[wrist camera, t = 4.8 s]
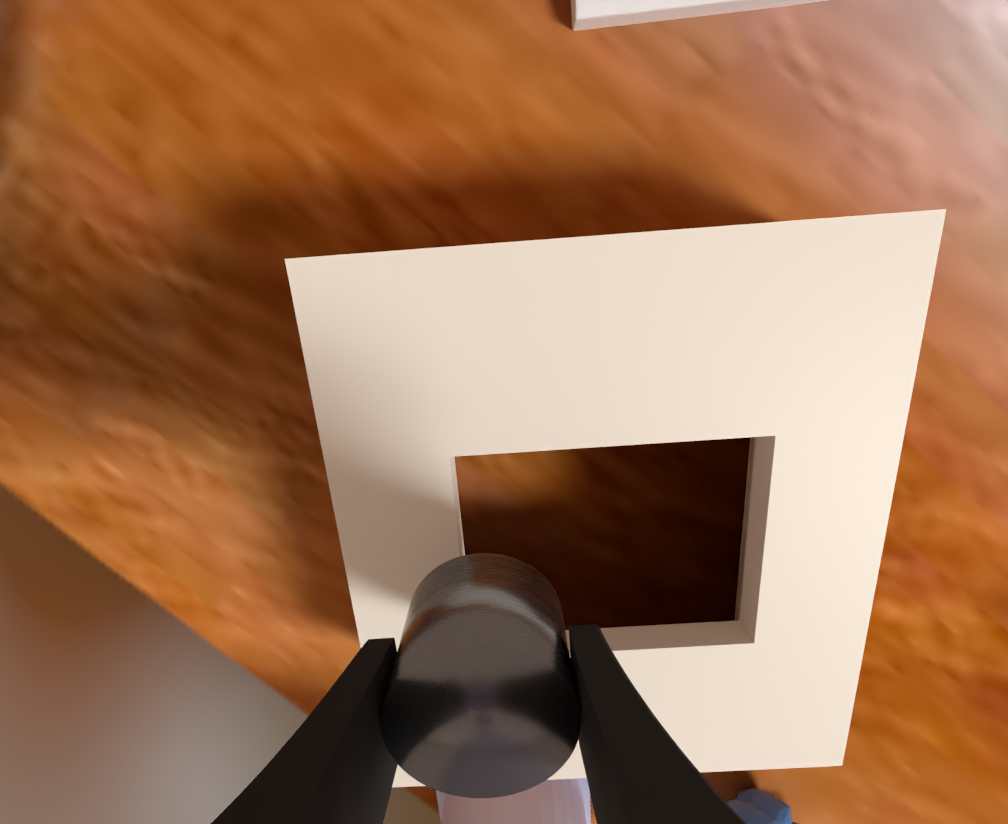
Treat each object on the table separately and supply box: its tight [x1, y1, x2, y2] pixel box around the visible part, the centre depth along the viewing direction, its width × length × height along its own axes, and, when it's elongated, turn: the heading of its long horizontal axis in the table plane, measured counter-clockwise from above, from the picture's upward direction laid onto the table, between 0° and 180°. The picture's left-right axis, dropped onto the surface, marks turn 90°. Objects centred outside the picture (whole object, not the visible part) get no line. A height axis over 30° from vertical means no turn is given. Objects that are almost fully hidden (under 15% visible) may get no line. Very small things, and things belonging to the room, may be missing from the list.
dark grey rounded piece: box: [381, 553, 581, 798], centre depth 11 cm, size 4×4×3 cm
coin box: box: [285, 209, 946, 787], centre depth 17 cm, size 18×16×6 cm
